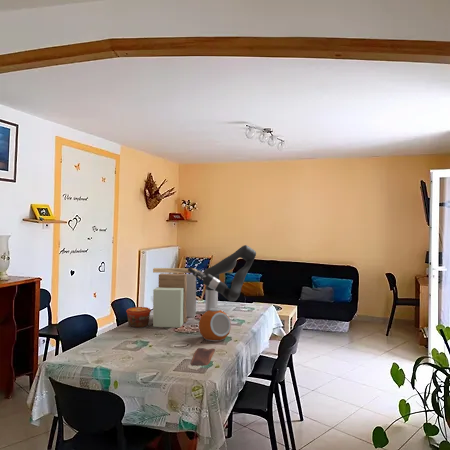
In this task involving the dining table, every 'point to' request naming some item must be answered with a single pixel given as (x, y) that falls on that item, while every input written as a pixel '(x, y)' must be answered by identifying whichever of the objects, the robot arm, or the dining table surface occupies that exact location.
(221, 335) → the alarm clock
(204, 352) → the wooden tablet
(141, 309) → the food container
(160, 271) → the oak strip
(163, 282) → the tall wooden block
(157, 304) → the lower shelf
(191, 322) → the dining table surface
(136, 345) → the dining table surface
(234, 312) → the dining table surface
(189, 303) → the grey tall block
